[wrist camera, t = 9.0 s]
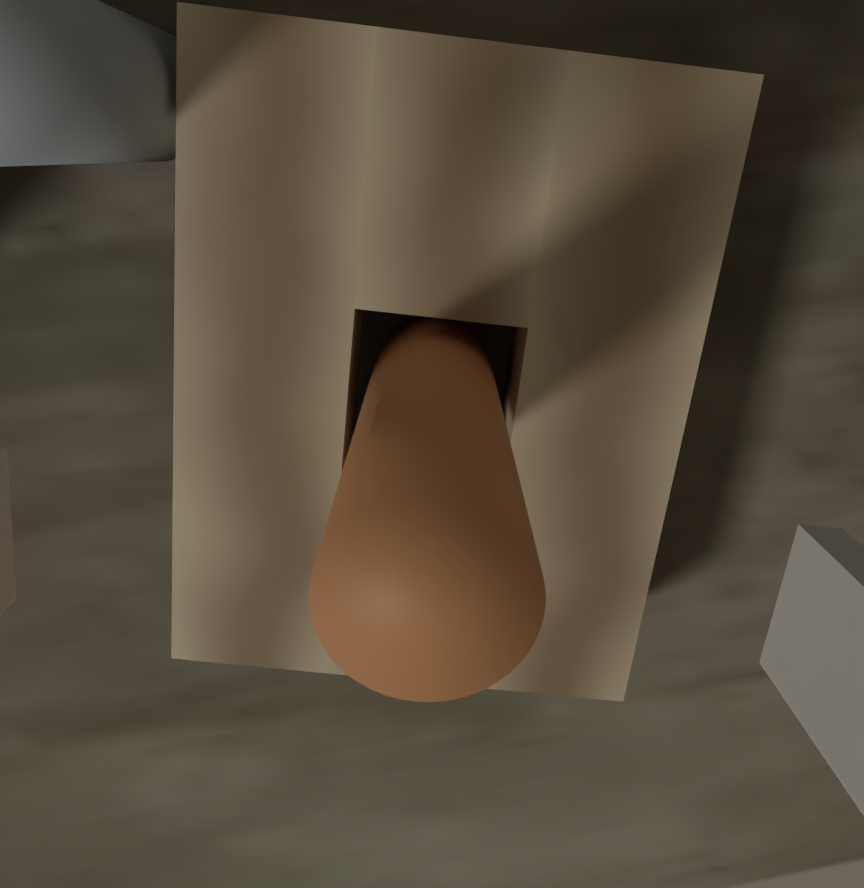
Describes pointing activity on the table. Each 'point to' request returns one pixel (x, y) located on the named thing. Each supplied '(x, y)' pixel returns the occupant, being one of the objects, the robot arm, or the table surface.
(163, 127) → the grey dowel
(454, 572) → the tapered brown peg
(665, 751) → the table surface
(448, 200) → the bore block
